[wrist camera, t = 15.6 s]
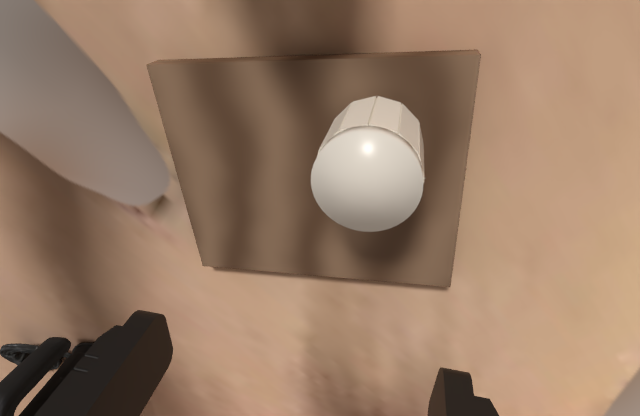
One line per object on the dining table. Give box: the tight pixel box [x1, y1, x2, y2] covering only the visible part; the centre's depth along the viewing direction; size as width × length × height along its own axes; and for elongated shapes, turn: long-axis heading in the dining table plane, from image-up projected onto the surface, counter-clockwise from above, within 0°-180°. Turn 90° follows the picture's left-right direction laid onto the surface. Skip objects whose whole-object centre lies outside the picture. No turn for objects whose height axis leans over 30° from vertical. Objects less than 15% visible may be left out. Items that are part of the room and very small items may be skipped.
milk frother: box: [0, 337, 94, 416], centre depth 47 cm, size 14×16×15 cm
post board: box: [147, 50, 481, 287], centre depth 28 cm, size 22×18×8 cm
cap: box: [311, 96, 425, 232], centre depth 24 cm, size 6×6×6 cm
